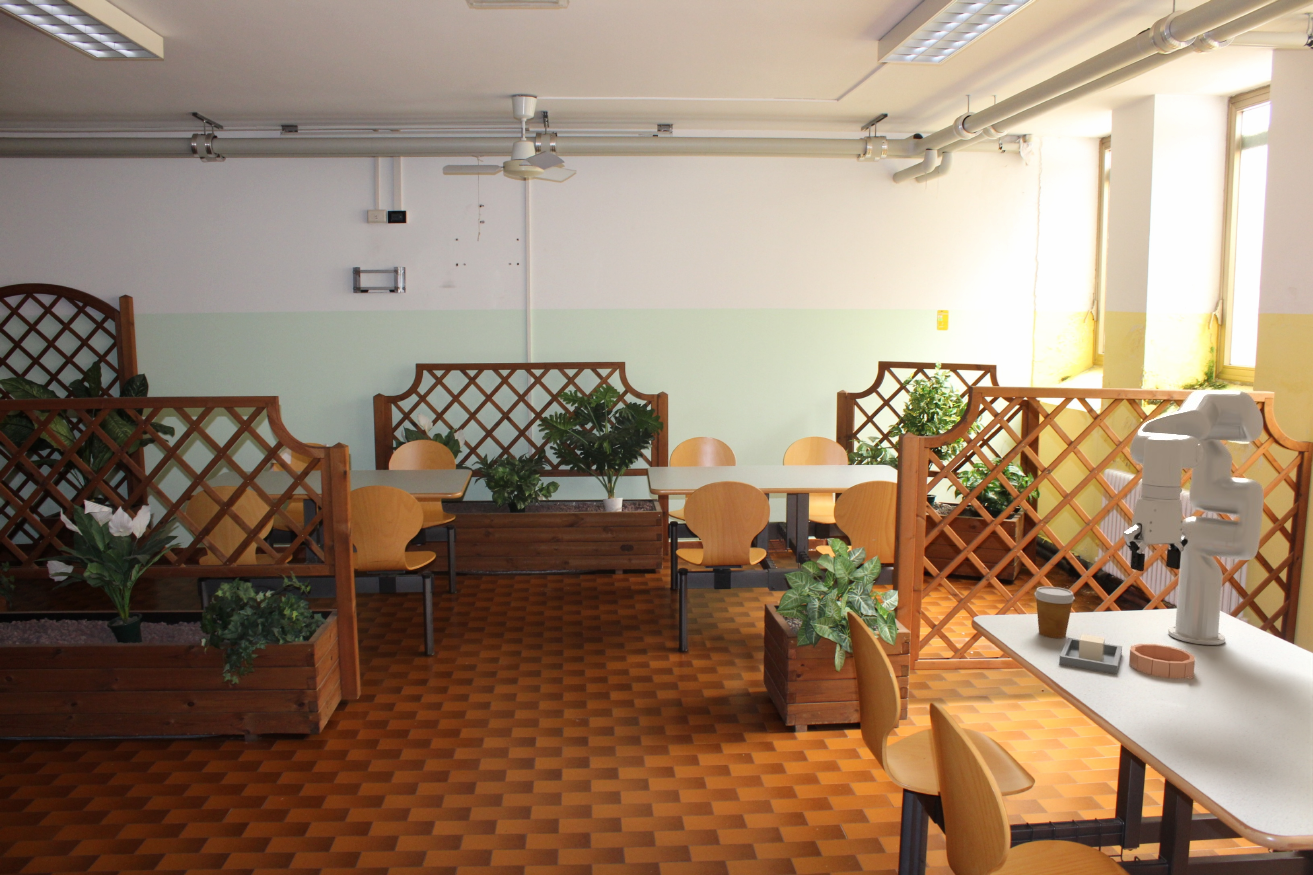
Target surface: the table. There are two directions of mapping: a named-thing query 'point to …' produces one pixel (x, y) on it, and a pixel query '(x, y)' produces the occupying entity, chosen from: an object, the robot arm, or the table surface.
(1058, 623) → the disposable coffee cup
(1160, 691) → the table surface
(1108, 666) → the parts tray
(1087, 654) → the cream beige cube
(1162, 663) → the bowl
